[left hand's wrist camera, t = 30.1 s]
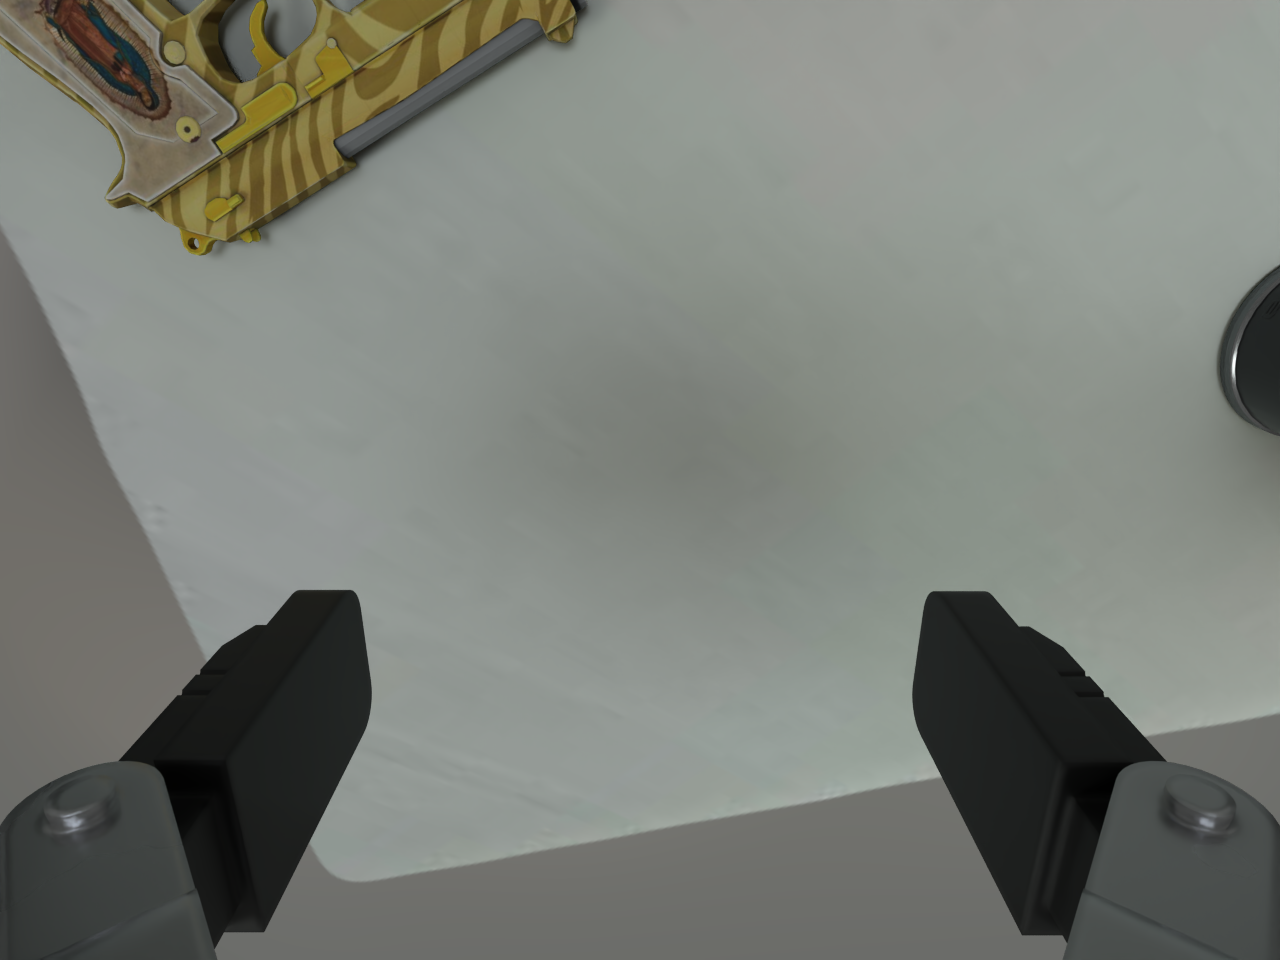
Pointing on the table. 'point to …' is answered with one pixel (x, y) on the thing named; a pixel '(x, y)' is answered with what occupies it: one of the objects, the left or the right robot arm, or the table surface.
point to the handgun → (259, 92)
